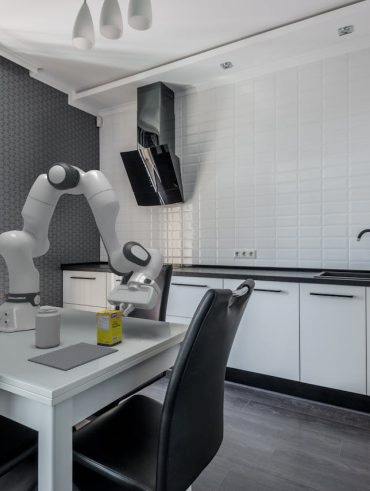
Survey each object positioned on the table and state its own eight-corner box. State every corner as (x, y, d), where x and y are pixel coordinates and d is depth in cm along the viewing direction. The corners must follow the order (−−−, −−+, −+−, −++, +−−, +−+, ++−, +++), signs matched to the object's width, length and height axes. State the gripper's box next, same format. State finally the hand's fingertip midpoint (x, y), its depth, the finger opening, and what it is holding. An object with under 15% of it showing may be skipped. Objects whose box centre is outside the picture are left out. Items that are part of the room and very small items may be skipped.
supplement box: (122, 342, 114) (122, 310, 114) (110, 347, 109) (110, 313, 109) (108, 340, 117) (108, 308, 117) (96, 344, 111) (96, 311, 111)
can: (46, 341, 115) (46, 306, 115) (64, 343, 113) (64, 307, 113) (30, 348, 108) (30, 310, 108) (49, 350, 106) (49, 311, 106)
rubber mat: (82, 343, 113) (82, 342, 113) (118, 350, 105) (118, 349, 105) (27, 360, 96) (27, 359, 96) (65, 371, 88) (65, 369, 88)
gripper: (114, 278, 130) (95, 307, 122) (157, 281, 119) (140, 313, 111) (122, 288, 134) (104, 317, 125) (164, 292, 123) (148, 324, 115)
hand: (121, 315), depth 118 cm, fingers closed
